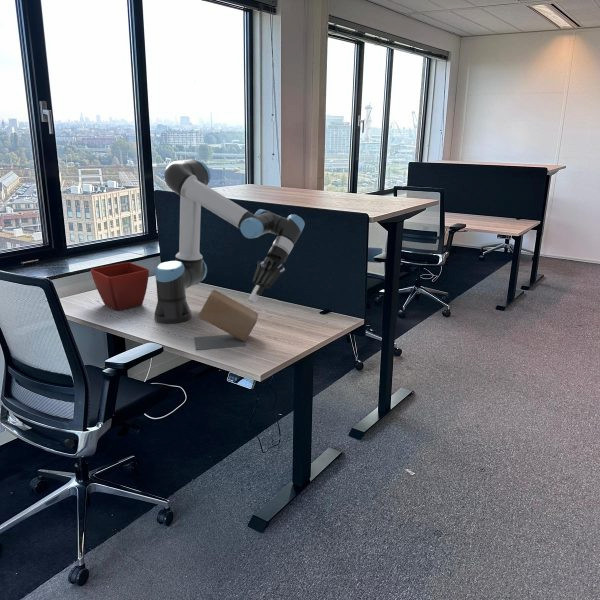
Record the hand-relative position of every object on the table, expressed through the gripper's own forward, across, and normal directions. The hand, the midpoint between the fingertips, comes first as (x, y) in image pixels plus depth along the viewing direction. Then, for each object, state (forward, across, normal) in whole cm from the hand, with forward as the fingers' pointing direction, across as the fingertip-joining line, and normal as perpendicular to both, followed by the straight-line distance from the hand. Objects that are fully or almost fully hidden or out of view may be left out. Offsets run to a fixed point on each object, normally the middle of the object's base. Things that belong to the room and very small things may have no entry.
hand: (251, 301), depth 199 cm
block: (+7, 0, -8) cm, 11 cm away
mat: (+18, +8, -4) cm, 20 cm away
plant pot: (+16, +74, -6) cm, 76 cm away
